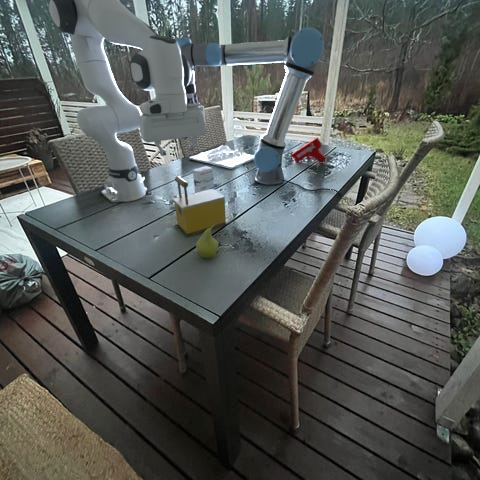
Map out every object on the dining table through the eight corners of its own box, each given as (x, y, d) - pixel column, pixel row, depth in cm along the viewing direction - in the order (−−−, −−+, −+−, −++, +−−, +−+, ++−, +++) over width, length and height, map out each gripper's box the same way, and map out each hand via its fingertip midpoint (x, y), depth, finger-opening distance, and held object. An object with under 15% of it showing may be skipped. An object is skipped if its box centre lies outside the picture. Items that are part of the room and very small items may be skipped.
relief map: (231, 168, 161) (231, 160, 158) (189, 159, 179) (189, 151, 176) (257, 158, 179) (257, 150, 176) (217, 150, 197) (216, 142, 194)
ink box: (208, 188, 135) (206, 165, 129) (214, 191, 132) (213, 167, 126) (194, 193, 130) (191, 169, 124) (200, 196, 127) (198, 172, 121)
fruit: (195, 252, 89) (191, 220, 82) (216, 247, 91) (214, 216, 85) (200, 264, 84) (196, 230, 77) (223, 258, 86) (221, 225, 79)
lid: (182, 210, 91) (178, 184, 86) (172, 201, 98) (168, 176, 93) (224, 199, 99) (223, 174, 94) (213, 191, 105) (211, 167, 100)
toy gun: (330, 157, 167) (317, 136, 163) (329, 159, 164) (317, 138, 160) (304, 172, 177) (292, 153, 173) (303, 174, 174) (291, 155, 170)
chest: (187, 236, 97) (184, 210, 92) (178, 226, 104) (174, 200, 98) (225, 224, 105) (224, 199, 99) (214, 215, 111) (213, 191, 105)
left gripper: (199, 101, 86) (202, 146, 93) (133, 106, 76) (143, 155, 84) (208, 103, 81) (211, 150, 89) (139, 108, 72) (149, 160, 79)
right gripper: (191, 81, 126) (196, 129, 138) (162, 84, 107) (170, 140, 118) (206, 81, 124) (209, 130, 136) (179, 84, 105) (185, 141, 116)
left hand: (177, 153), depth 86 cm, fingers open, 8 cm apart
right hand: (191, 135), depth 127 cm, fingers open, 13 cm apart
